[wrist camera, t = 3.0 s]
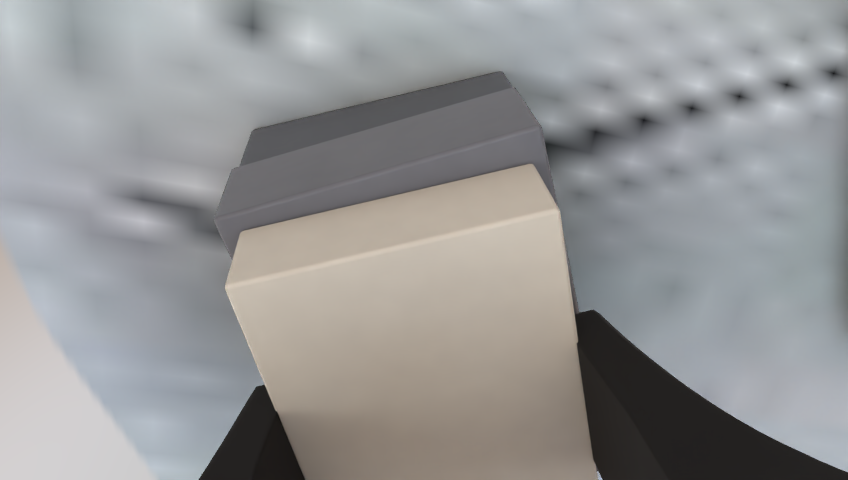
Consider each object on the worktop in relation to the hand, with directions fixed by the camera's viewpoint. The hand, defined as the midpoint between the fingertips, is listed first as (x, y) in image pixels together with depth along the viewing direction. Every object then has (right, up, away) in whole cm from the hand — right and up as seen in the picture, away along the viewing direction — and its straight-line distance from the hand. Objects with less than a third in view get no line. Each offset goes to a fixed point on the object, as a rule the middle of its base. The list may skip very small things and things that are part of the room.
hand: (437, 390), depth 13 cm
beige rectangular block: (0, 0, 0) cm, 1 cm away
